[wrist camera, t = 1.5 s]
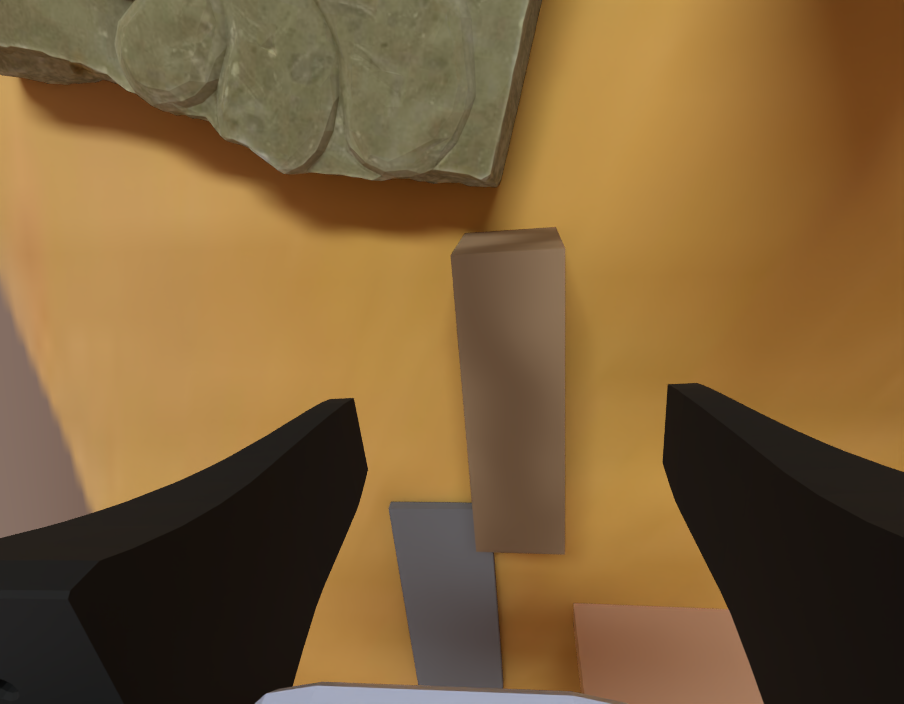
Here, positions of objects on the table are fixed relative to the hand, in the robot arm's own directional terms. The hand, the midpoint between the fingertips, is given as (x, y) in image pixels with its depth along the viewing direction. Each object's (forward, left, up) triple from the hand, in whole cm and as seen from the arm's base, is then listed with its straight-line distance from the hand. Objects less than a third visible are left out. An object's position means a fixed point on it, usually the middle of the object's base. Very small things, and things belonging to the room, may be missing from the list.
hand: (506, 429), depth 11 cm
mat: (+4, +16, -10) cm, 19 cm away
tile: (-7, +17, -10) cm, 21 cm away
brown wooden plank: (0, +3, -10) cm, 10 cm away
